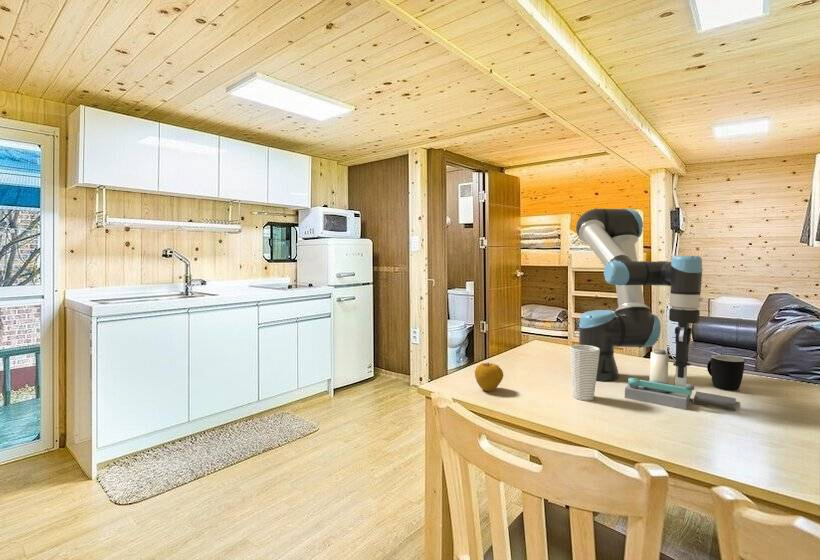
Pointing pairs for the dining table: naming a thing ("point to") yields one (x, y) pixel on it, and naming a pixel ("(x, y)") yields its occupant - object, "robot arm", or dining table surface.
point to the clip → (662, 386)
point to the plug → (659, 368)
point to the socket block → (657, 397)
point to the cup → (584, 370)
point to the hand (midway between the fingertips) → (680, 387)
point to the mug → (726, 372)
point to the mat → (715, 400)
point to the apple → (488, 376)
